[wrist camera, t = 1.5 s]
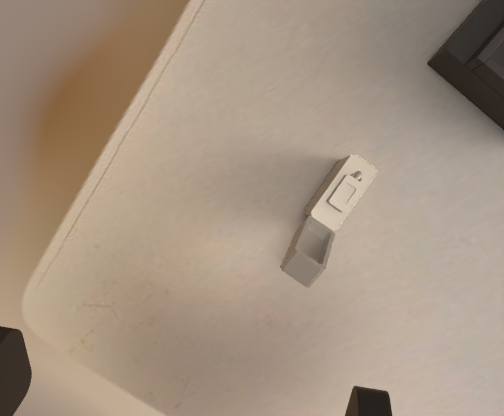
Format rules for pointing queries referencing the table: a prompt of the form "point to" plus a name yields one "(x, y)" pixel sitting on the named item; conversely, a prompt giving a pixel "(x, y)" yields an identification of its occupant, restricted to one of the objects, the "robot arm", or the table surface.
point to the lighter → (326, 218)
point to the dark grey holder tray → (477, 58)
